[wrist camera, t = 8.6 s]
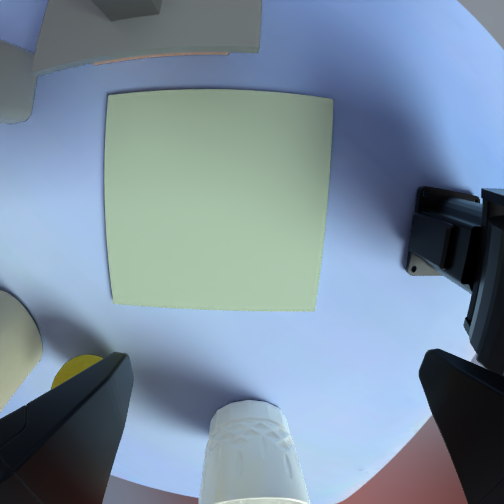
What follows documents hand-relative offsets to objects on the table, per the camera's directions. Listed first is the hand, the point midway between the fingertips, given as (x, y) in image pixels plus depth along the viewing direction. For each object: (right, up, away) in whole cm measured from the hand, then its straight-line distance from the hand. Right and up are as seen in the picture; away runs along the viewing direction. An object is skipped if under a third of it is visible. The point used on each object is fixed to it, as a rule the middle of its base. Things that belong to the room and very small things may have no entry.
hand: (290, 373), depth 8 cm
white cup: (-1, -12, +16) cm, 20 cm away
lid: (-6, +19, +2) cm, 20 cm away
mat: (-3, +6, +10) cm, 13 cm away
